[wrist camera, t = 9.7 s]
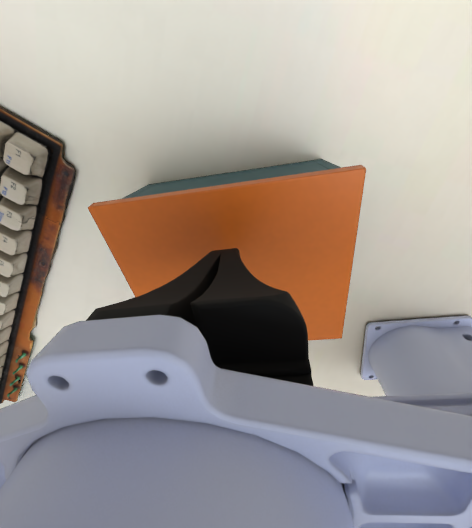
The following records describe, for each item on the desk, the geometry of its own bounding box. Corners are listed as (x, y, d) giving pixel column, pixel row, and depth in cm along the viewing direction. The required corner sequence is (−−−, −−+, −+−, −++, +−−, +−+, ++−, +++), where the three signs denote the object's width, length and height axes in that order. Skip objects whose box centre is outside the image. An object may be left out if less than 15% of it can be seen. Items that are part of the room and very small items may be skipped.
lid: (92, 202, 13) (87, 207, 13) (361, 164, 12) (367, 168, 11) (165, 343, 20) (163, 350, 20) (339, 331, 19) (342, 338, 18)
